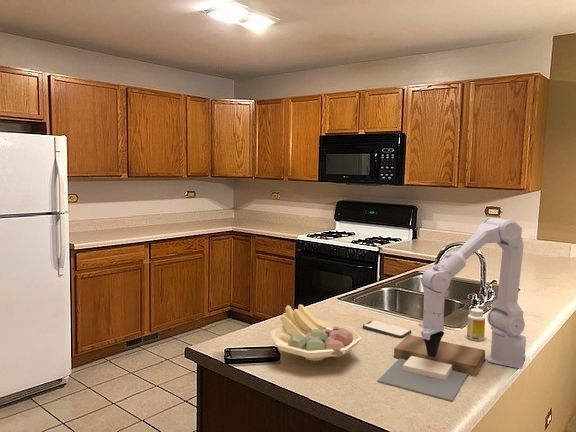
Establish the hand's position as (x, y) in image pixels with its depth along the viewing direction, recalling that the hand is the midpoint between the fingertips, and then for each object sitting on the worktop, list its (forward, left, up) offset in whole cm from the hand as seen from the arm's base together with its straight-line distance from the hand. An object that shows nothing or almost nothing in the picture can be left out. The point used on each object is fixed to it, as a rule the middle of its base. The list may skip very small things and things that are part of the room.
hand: (431, 355), depth 137 cm
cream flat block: (0, +3, -3) cm, 4 cm away
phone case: (+23, -23, -4) cm, 33 cm away
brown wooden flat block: (0, -9, -4) cm, 9 cm away
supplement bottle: (-6, -33, -4) cm, 33 cm away
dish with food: (+33, +11, -4) cm, 35 cm away
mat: (0, +8, -4) cm, 9 cm away
